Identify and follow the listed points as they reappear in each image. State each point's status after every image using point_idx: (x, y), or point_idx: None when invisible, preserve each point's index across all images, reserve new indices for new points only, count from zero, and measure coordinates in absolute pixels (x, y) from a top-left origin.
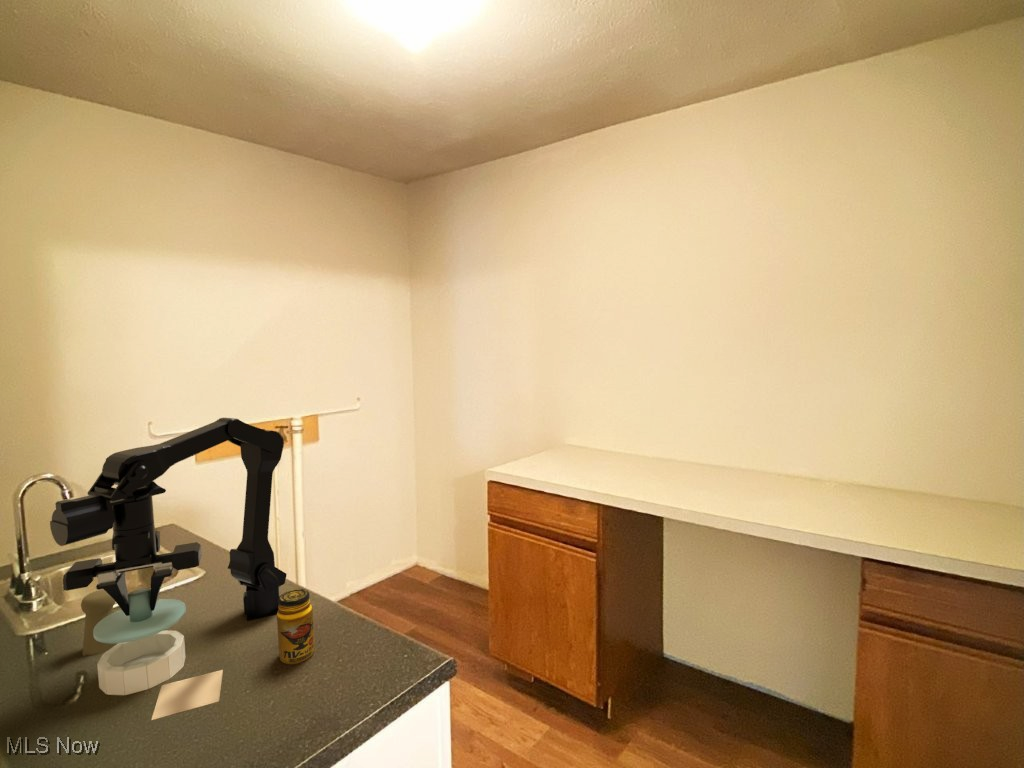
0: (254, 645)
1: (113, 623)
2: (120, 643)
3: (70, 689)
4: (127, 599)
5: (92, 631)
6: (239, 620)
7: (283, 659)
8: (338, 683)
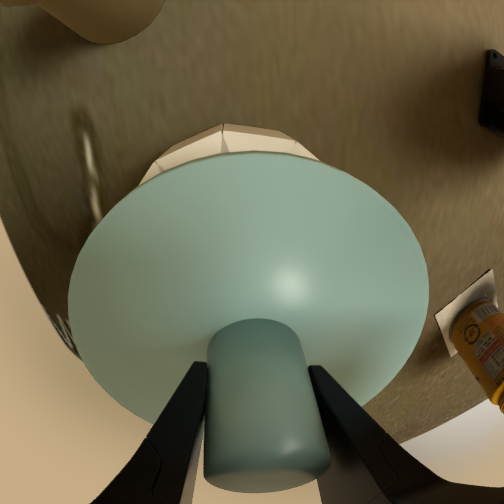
0: (455, 244)
1: (140, 348)
2: (162, 168)
3: (77, 196)
4: (198, 442)
5: (63, 19)
6: (467, 91)
7: (454, 345)
8: (455, 388)
